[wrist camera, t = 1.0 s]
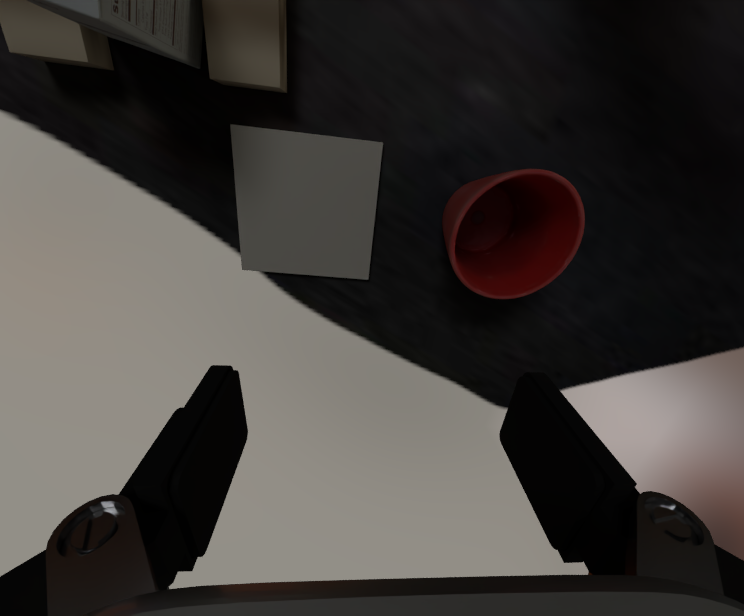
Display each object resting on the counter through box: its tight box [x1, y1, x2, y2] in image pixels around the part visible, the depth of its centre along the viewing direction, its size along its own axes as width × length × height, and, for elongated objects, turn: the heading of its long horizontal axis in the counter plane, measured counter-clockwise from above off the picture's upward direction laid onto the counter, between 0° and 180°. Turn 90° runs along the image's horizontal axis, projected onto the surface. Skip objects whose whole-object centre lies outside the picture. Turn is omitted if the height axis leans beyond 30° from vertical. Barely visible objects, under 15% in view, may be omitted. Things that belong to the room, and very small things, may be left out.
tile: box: [230, 124, 383, 280], centre depth 33 cm, size 14×14×1 cm
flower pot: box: [442, 169, 585, 299], centre depth 30 cm, size 11×11×10 cm
